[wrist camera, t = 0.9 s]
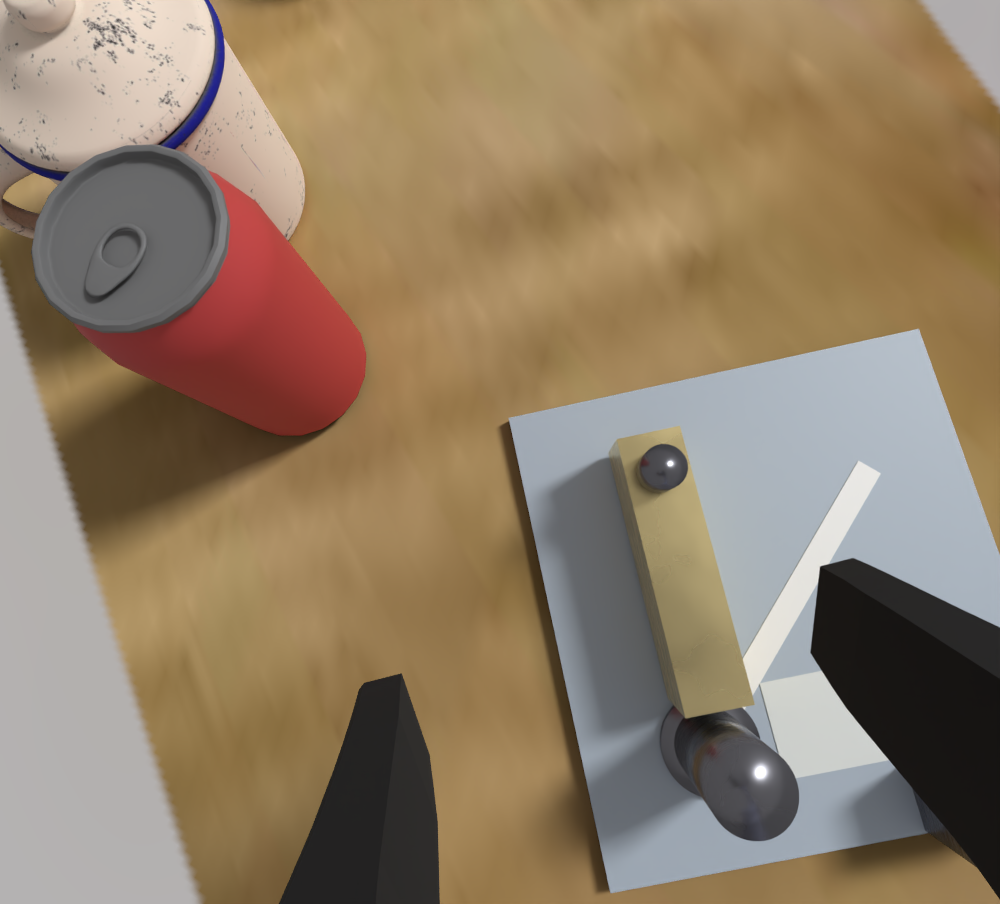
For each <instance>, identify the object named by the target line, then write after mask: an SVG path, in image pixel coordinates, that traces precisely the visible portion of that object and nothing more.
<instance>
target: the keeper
mask: <svg viewBox="0 0 1000 904" xmlns="http://www.w3.org/2000/svg"><path fill="white" fill-rule="evenodd" d="M912 790H913V788H912ZM913 793H914V796H915V799H916V803H917V806H918V809H919V812H920V816H921V819H922V822H923V825H924V828H925V831H926V832H928V833H929V834H931V835H932V836H933V837H935V838H936V839H938V840H939V841H940V842H942V843H943V844H945V845H946V846H947V847H949V848H950V849H952V850H953V851H955V852H956V853H957V854H959V855H960V856H962V857H963V858H964V859H966V860H967V861H969V862H970V863H971V864H973V865H974V866H976V865H975V864H974V863H973V862H972V860H971V859H970V858H969V857H968V855H967V854H966V853H965V851H964V850H963V849H962V848H961V846H960V845H959V844H958V842H957V841H956V840H955V839H954V837H953V836H952V835H951V834H950V833H949V831H948V830H947V829H946V828H945V827H944V825H943V824H942V823H941V822H940V821H939V819H938V818H937V817H936V816H935V815H934V813H933V812H932V811H931V810H930V809H929V807H928V806H927V805H926V804H925V803H924V802H923V800H922V799H921V798H920V797H919V796H918V794H917V793H916V792H915V791H914V790H913Z"/></svg>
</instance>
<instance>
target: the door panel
mask: <svg viewBox="0 0 1000 904" xmlns="http://www.w3.org/2000/svg"><path fill="white" fill-rule="evenodd" d="M509 422H510V426H511V431H512V436H513V440H514V445H515V450H516V454H517V459H518V464H519V468H520V473H521V478H522V482H523V487H524V492H525V496H526V501H527V506H528V510H529V515H530V520H531V524H532V529H533V534H534V538H535V543H536V548H537V552H538V557H539V562H540V566H541V571H542V576H543V581H544V585H545V590H546V595H547V599H548V604H549V609H550V613H551V618H552V623H553V627H554V632H555V637H556V641H557V646H558V651H559V655H560V660H561V665H562V669H563V674H564V679H565V683H566V688H567V693H568V697H569V702H570V707H571V711H572V716H573V721H574V725H575V730H576V735H577V739H578V744H579V749H580V753H581V758H582V763H583V767H584V772H585V777H586V781H587V786H588V791H589V795H590V800H591V805H592V809H593V814H594V819H595V823H596V828H597V833H598V837H599V842H600V847H601V851H602V856H603V861H604V866H605V870H606V875H607V880H608V884H609V889H610V893H614V892H619V891H625V890H630V889H635V888H641V887H646V886H651V885H656V884H662V883H667V882H672V881H678V880H683V879H688V878H693V877H699V876H704V875H709V874H715V873H720V872H725V871H730V870H736V869H741V868H746V867H752V866H757V865H762V864H767V863H773V862H778V861H783V860H789V859H794V858H799V857H804V856H810V855H815V854H820V853H826V852H831V851H836V850H841V849H847V848H852V847H857V846H862V845H868V844H873V843H878V842H884V841H889V840H894V839H899V838H905V837H910V836H915V835H921V834H926V833H928V832H926V831H925V828H924V825H923V822H922V819H921V816H920V812H919V809H918V806H917V803H916V799H915V796H914V793H913V790H912V787H911V786H910V785H909V784H908V782H907V781H906V780H905V779H904V778H903V776H902V775H901V774H900V773H899V772H898V770H897V769H896V768H895V767H894V766H893V764H892V763H891V762H890V761H889V760H888V758H887V757H886V756H885V755H884V754H883V753H882V751H881V750H880V749H879V748H878V746H877V745H876V744H875V743H874V742H873V740H872V739H871V738H870V737H869V736H868V734H867V733H866V732H865V731H864V729H863V728H862V727H861V726H860V725H859V723H858V722H857V721H856V720H855V718H854V717H853V716H852V715H851V713H850V712H849V711H848V710H847V708H846V707H845V706H844V704H843V703H842V701H841V700H840V698H839V697H838V695H837V694H836V692H835V691H834V689H833V688H832V686H831V685H830V683H829V682H828V680H827V679H826V677H825V675H824V674H823V672H822V671H821V669H820V667H819V666H818V664H817V663H816V661H815V660H814V658H813V656H812V655H811V653H810V651H811V642H812V633H813V624H814V615H815V606H816V597H817V588H818V579H819V570H820V566H823V565H827V564H831V563H835V562H839V561H843V560H847V559H851V558H855V559H857V560H860V561H862V562H864V563H866V564H869V565H871V566H873V567H875V568H877V569H879V570H882V571H884V572H886V573H888V574H890V575H892V576H894V577H896V578H898V579H900V580H902V581H904V582H907V583H909V584H911V585H913V586H915V587H917V588H919V589H921V590H923V591H925V592H927V593H929V594H931V595H933V596H935V597H937V598H940V599H942V600H944V601H946V602H948V603H950V604H952V605H954V606H956V607H958V608H960V609H962V610H964V611H967V612H969V613H971V614H973V615H975V616H977V617H979V618H981V619H983V620H985V621H988V622H990V623H992V624H994V625H996V626H998V627H1000V555H999V552H998V549H997V547H996V544H995V541H994V538H993V535H992V533H991V530H990V527H989V524H988V521H987V519H986V516H985V513H984V510H983V507H982V505H981V502H980V499H979V496H978V493H977V491H976V488H975V485H974V482H973V479H972V477H971V474H970V471H969V468H968V465H967V463H966V460H965V457H964V454H963V451H962V449H961V446H960V443H959V440H958V437H957V435H956V432H955V429H954V426H953V424H952V421H951V418H950V415H949V412H948V410H947V407H946V404H945V401H944V398H943V396H942V393H941V390H940V387H939V384H938V382H937V379H936V376H935V373H934V370H933V368H932V365H931V362H930V359H929V356H928V354H927V351H926V348H925V345H924V342H923V340H922V337H921V334H920V331H919V329H916V330H912V331H907V332H903V333H898V334H893V335H889V336H884V337H880V338H875V339H870V340H866V341H861V342H857V343H852V344H847V345H843V346H838V347H834V348H829V349H824V350H820V351H815V352H811V353H806V354H801V355H797V356H792V357H788V358H783V359H778V360H774V361H769V362H765V363H760V364H755V365H751V366H746V367H742V368H737V369H732V370H728V371H723V372H719V373H714V374H709V375H705V376H700V377H696V378H691V379H686V380H682V381H677V382H673V383H668V384H663V385H659V386H654V387H650V388H645V389H640V390H636V391H631V392H627V393H622V394H617V395H613V396H608V397H604V398H599V399H594V400H590V401H585V402H581V403H576V404H571V405H567V406H562V407H558V408H553V409H548V410H544V411H539V412H535V413H530V414H525V415H521V416H516V417H512V418H509ZM676 426H680V428H681V431H682V435H683V439H684V443H685V446H686V450H687V454H688V458H689V461H690V465H691V469H692V472H693V476H694V480H695V484H696V487H697V491H698V495H699V498H700V502H701V506H702V510H703V513H704V517H705V521H706V524H707V528H708V532H709V536H710V539H711V543H712V547H713V550H714V554H715V558H716V562H717V565H718V569H719V573H720V576H721V580H722V584H723V588H724V591H725V595H726V599H727V603H728V606H729V610H730V614H731V617H732V621H733V625H734V629H735V632H736V636H737V640H738V643H739V647H740V651H741V655H742V658H743V662H744V666H745V669H746V673H747V677H748V681H749V684H750V688H751V692H752V695H753V699H754V703H755V705H752V706H746V707H742V708H743V709H744V710H745V711H746V712H747V713H748V714H749V715H750V717H751V718H752V720H753V721H754V723H755V725H756V727H757V729H758V732H759V735H760V739H761V740H762V741H763V742H764V743H765V744H767V745H768V746H769V747H770V748H771V749H773V750H774V751H775V752H776V753H777V754H779V755H780V756H781V757H782V758H783V759H784V760H785V761H786V762H787V764H788V765H789V766H790V768H791V770H792V771H793V773H794V775H795V778H796V781H797V784H798V788H799V806H798V810H797V813H796V816H795V818H794V820H793V822H792V823H791V825H790V826H789V827H788V828H787V829H786V830H785V831H784V832H783V833H782V834H780V835H779V836H777V837H775V838H773V839H770V840H766V841H749V840H745V839H741V838H739V837H737V836H735V835H733V834H731V833H730V832H729V831H727V830H726V829H725V828H724V827H723V826H722V825H721V824H720V823H719V822H718V820H717V819H716V818H715V816H714V815H713V813H712V812H711V810H710V809H709V807H708V806H707V804H706V803H705V801H704V800H703V798H702V797H700V796H697V795H695V794H693V793H691V792H689V791H688V790H686V789H685V788H683V787H682V786H681V785H680V784H679V783H678V782H677V781H676V780H675V779H674V778H673V776H672V775H671V773H670V772H669V770H668V768H667V767H666V765H665V762H664V760H663V757H662V754H661V749H660V731H661V726H662V723H663V720H664V718H665V716H666V714H667V713H668V711H669V710H670V708H671V707H672V706H673V704H672V703H671V702H670V700H669V699H668V697H667V693H666V689H665V685H664V681H663V676H662V672H661V668H660V664H659V660H658V656H657V652H656V648H655V644H654V640H653V635H652V631H651V627H650V623H649V619H648V615H647V611H646V607H645V603H644V598H643V594H642V590H641V586H640V582H639V578H638V574H637V570H636V566H635V562H634V557H633V553H632V549H631V545H630V541H629V537H628V533H627V529H626V525H625V520H624V516H623V512H622V508H621V504H620V500H619V496H618V492H617V488H616V483H615V479H614V475H613V471H612V467H611V463H610V459H609V455H608V452H609V451H610V449H611V448H612V446H613V444H614V443H615V441H616V439H620V438H625V437H629V436H634V435H639V434H643V433H648V432H652V431H657V430H662V429H666V428H671V427H676Z"/></svg>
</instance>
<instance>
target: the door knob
mask: <svg viewBox="0 0 1000 904" xmlns="http://www.w3.org/2000/svg"><path fill="white" fill-rule="evenodd" d="M660 749H661V754H662V757H663V760H664V762H665V765H666V767H667V768H668V770H669V772H670V773H671V775H672V776H673V778H674V779H675V780H676V781H677V782H678V783H679V784H680V785H681V786H682V787H683V788H685V789H686V790H688V791H689V792H691V793H693V794H695V795H697V796H700V797H702V798H703V800H704V801H705V803H706V804H707V806H708V807H709V809H710V810H711V812H712V813H713V815H714V816H715V818H716V819H717V820H718V822H719V823H720V824H721V825H722V826H723V827H724V828H725V829H726V830H727V831H729V832H730V833H731V834H733V835H735V836H737V837H739V838H741V839H745V840H749V841H766V840H770V839H773V838H775V837H777V836H779V835H780V834H782V833H783V832H784V831H785V830H786V829H787V828H788V827H789V826H790V825H791V823H792V822H793V820H794V818H795V816H796V813H797V810H798V806H799V788H798V784H797V781H796V778H795V775H794V773H793V771H792V770H791V768H790V766H789V765H788V764H787V762H786V761H785V760H784V759H783V758H782V757H781V756H780V755H779V754H777V753H776V752H775V751H774V750H773V749H771V748H770V747H769V746H768V745H767V744H765V743H764V742H763V741H762V740H761V739H760V735H759V732H758V729H757V727H756V725H755V723H754V721H753V720H752V718H751V717H750V715H749V714H748V713H747V712H746V711H745V710H744V709H743V708H742V707H741V708H736V709H731V710H726V711H721V712H716V713H711V714H706V715H701V716H696V717H691V718H685V717H684V716H683V715H682V714H681V713H680V712H679V711H678V709H677V708H676V707H675V706H674V705H673V706H672V707H671V708H670V710H669V711H668V713H667V714H666V716H665V718H664V720H663V723H662V726H661V731H660Z"/></svg>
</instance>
